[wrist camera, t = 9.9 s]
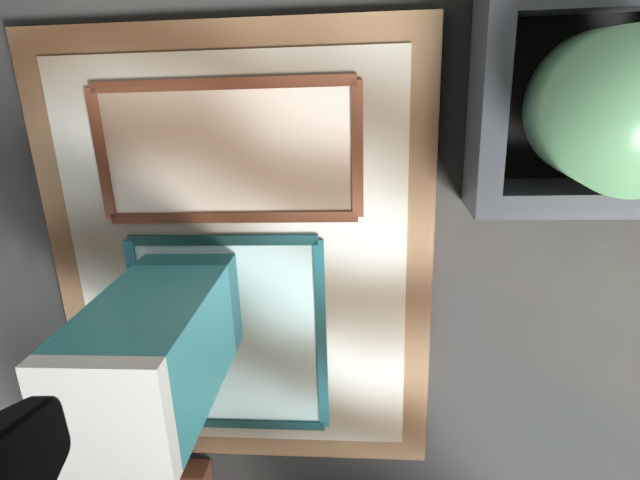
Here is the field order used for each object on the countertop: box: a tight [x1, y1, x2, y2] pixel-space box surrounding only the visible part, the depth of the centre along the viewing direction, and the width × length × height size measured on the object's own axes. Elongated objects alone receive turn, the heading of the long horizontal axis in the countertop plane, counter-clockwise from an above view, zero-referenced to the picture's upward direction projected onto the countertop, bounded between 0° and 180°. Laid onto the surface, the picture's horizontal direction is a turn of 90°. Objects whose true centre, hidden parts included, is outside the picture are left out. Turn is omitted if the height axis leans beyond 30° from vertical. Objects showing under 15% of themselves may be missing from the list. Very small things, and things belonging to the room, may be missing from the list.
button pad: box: [462, 0, 640, 220], centre depth 17 cm, size 7×7×2 cm
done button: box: [522, 22, 640, 200], centre depth 14 cm, size 4×4×3 cm
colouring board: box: [5, 9, 443, 461], centre depth 20 cm, size 18×15×1 cm
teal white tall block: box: [15, 254, 243, 480], centre depth 17 cm, size 4×4×8 cm
